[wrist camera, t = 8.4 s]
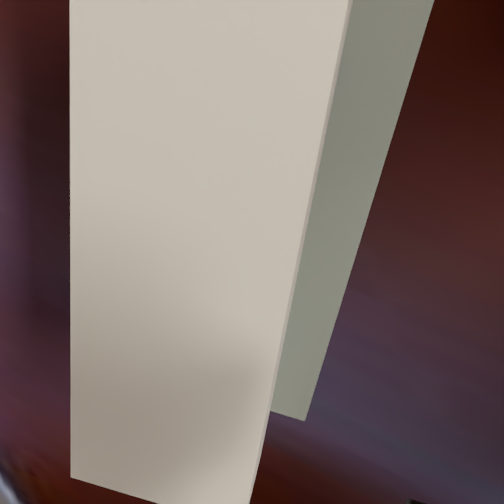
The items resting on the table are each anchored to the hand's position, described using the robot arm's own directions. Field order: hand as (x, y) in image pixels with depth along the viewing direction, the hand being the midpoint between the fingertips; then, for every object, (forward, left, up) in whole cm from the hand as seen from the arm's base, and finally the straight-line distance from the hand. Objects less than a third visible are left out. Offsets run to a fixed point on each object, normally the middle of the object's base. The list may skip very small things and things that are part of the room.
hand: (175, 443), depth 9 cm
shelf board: (+2, +2, -7) cm, 7 cm away
